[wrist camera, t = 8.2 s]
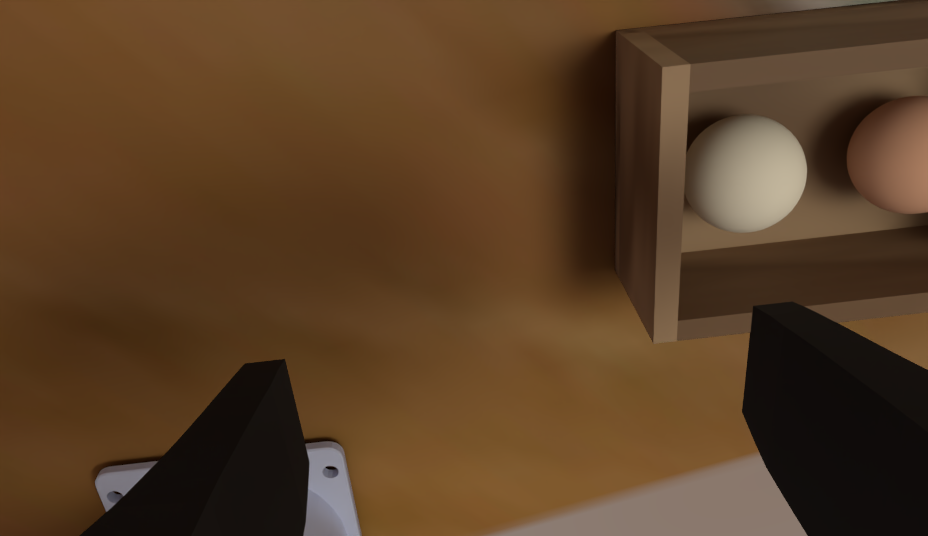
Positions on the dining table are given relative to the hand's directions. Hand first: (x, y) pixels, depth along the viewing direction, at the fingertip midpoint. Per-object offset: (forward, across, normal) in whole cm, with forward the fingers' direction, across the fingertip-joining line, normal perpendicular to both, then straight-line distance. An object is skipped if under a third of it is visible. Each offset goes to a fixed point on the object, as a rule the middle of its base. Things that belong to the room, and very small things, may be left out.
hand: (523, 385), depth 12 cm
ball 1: (+8, -7, 0) cm, 11 cm away
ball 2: (+8, -11, 0) cm, 14 cm away
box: (+10, -9, 0) cm, 14 cm away
